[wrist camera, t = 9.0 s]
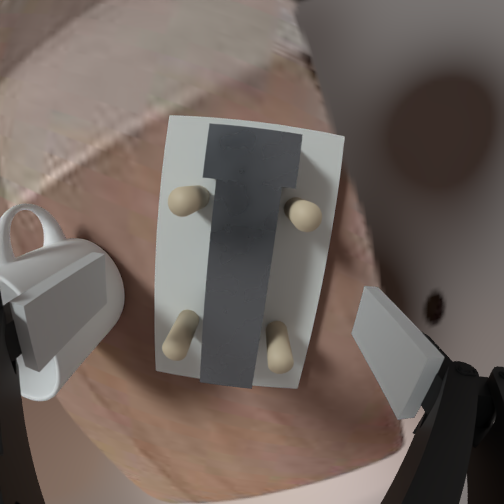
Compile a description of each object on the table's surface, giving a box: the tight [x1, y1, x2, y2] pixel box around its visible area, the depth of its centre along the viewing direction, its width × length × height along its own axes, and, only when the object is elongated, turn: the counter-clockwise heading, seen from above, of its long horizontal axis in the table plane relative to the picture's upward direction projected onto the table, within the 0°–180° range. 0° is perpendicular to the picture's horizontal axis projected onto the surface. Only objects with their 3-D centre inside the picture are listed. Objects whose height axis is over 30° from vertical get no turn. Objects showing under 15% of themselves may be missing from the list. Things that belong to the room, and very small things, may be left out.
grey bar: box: [200, 123, 303, 389], centre depth 19 cm, size 16×5×4 cm, turn 173°
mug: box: [0, 204, 124, 401], centre depth 17 cm, size 9×12×11 cm
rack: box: [155, 115, 344, 389], centre depth 19 cm, size 20×12×6 cm, turn 173°
